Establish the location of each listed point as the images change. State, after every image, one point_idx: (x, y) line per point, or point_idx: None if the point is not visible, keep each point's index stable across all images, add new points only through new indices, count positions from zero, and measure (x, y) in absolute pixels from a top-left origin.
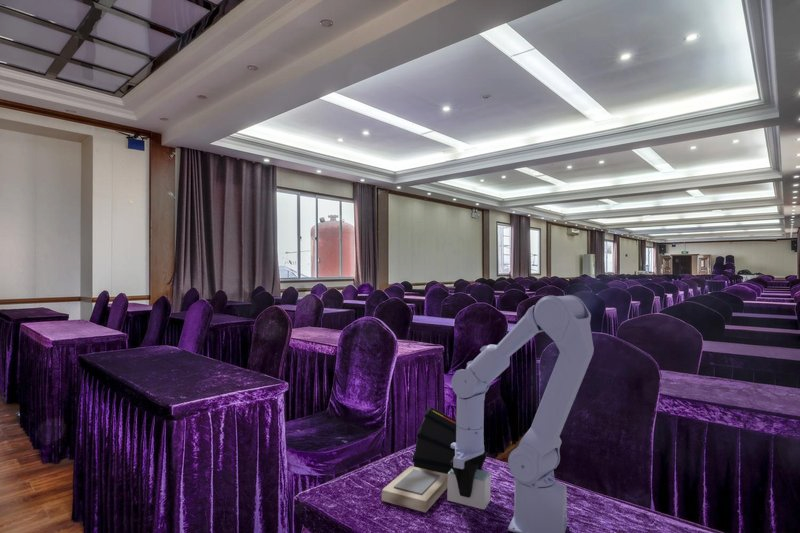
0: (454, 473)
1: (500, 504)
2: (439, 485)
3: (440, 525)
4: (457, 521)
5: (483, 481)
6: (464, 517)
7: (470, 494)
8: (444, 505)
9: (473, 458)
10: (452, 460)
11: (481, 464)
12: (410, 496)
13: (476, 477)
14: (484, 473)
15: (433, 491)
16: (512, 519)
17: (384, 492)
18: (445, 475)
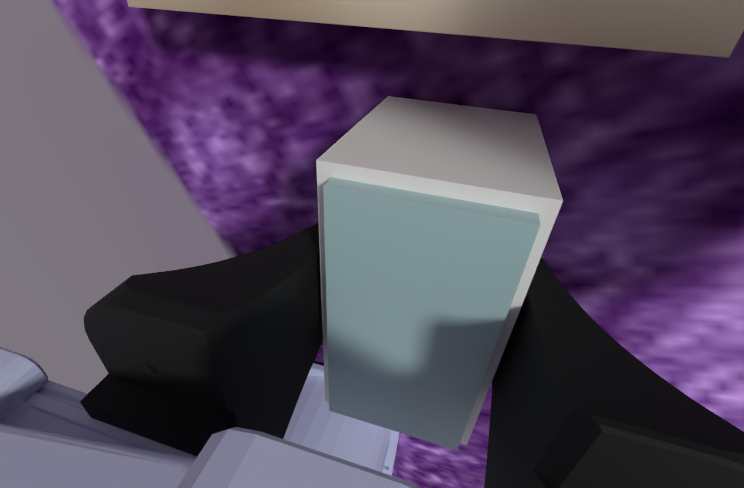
0: (224, 260)
1: None
2: (415, 20)
3: (148, 127)
4: (222, 192)
5: (326, 395)
6: (268, 216)
7: None
8: (321, 95)
9: (508, 466)
10: (135, 328)
11: (488, 461)
12: None
13: (331, 376)
14: (415, 424)
15: (285, 6)
16: (323, 373)
17: None
18: (699, 2)
